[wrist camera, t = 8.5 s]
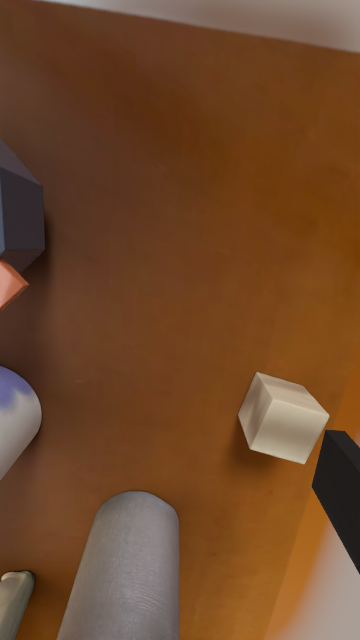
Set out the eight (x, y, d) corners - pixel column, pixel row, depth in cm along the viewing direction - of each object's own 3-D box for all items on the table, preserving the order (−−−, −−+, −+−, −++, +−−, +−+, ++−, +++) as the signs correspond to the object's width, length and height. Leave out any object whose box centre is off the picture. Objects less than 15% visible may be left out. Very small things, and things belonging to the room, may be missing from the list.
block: (256, 371, 26) (272, 398, 22) (303, 385, 27) (330, 415, 22) (237, 414, 28) (249, 449, 23) (283, 427, 28) (304, 465, 23)
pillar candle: (103, 558, 33) (42, 807, 18) (87, 492, 30) (2, 719, 16) (184, 551, 32) (188, 798, 18) (175, 484, 30) (171, 707, 15)
